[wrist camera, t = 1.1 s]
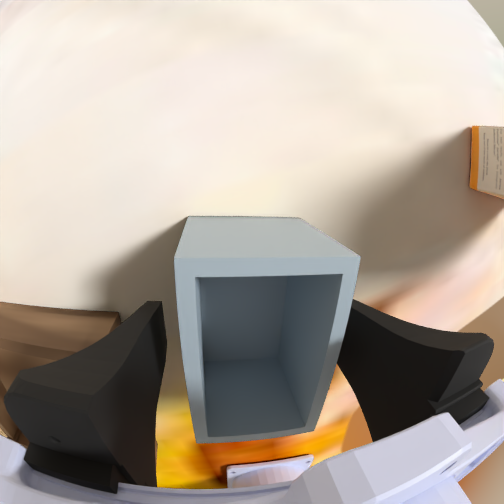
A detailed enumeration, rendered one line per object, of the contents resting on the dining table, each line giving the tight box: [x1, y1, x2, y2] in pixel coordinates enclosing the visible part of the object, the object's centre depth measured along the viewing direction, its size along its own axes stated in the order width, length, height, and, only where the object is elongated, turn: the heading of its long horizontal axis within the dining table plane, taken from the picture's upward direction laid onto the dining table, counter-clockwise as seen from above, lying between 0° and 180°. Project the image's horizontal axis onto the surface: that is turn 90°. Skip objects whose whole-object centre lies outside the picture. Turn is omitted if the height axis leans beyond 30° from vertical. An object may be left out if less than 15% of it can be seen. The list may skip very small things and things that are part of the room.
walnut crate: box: [0, 302, 158, 460], centre depth 11 cm, size 12×13×4 cm
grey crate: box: [174, 216, 361, 443], centre depth 11 cm, size 8×5×6 cm, turn 177°
